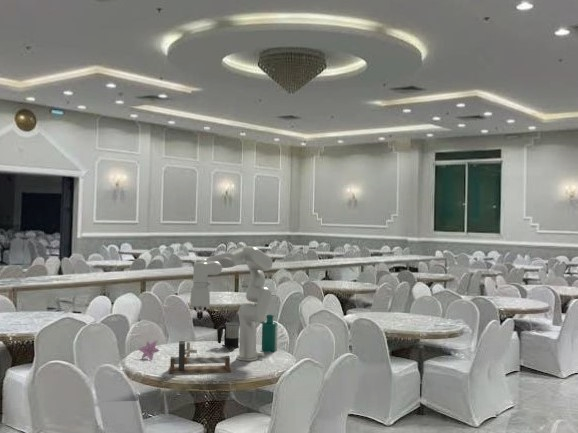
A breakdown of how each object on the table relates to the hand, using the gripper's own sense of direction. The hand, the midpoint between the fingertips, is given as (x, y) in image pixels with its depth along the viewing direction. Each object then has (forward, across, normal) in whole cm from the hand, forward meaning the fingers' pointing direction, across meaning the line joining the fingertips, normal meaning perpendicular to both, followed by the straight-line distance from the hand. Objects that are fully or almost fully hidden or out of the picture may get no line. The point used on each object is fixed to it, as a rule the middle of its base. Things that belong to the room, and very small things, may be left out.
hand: (199, 319), depth 326 cm
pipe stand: (+27, 0, +1) cm, 27 cm away
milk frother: (+28, -21, -50) cm, 61 cm away
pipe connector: (+27, +5, -23) cm, 36 cm away
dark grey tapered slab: (+26, +9, +1) cm, 27 cm away
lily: (+27, +27, -30) cm, 49 cm away
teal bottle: (+28, -44, -43) cm, 67 cm away
